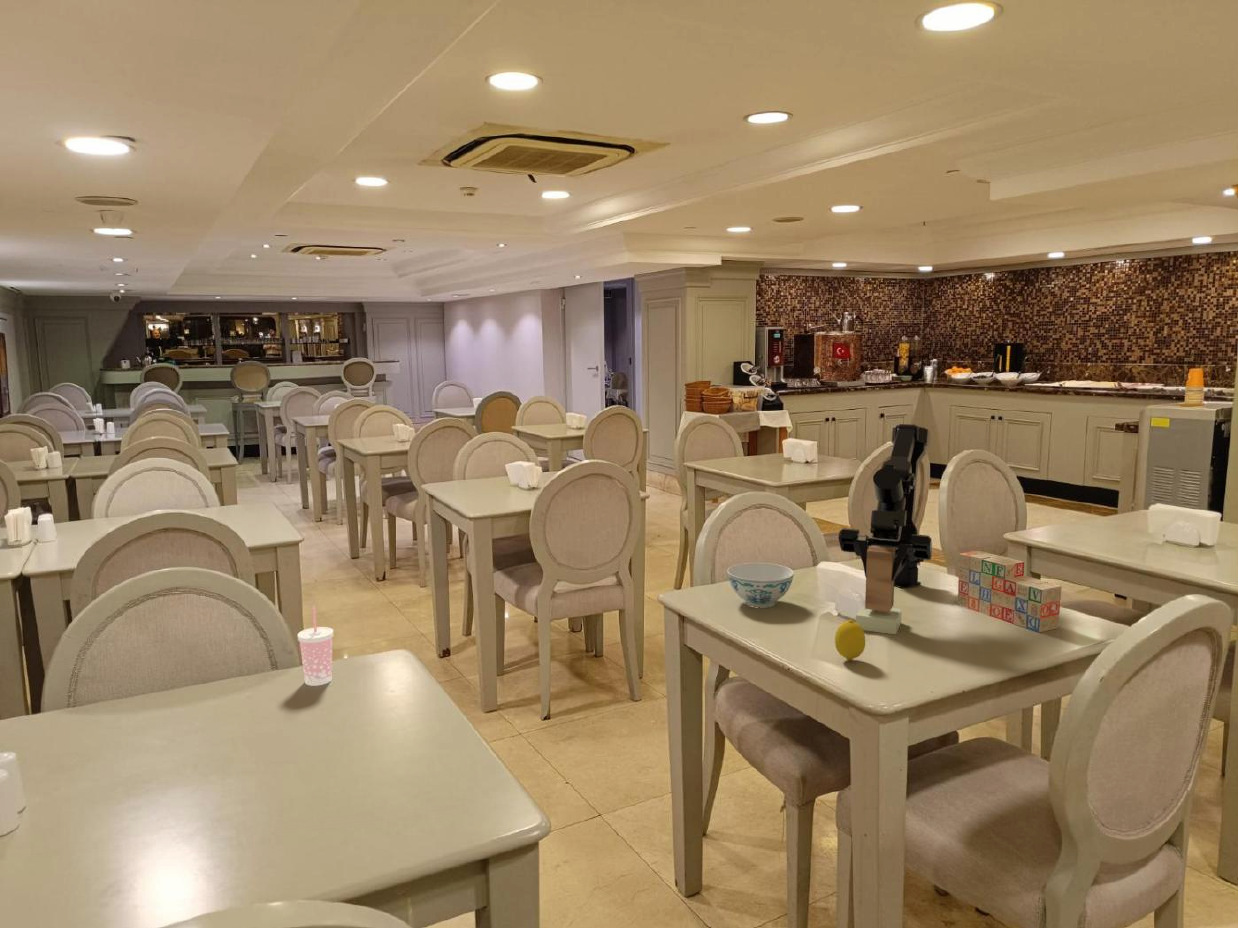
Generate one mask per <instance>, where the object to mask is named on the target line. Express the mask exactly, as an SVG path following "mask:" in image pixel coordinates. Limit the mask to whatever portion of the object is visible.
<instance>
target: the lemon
mask: <svg viewBox="0 0 1238 928" xmlns="http://www.w3.org/2000/svg"><path fill="white" fill-rule="evenodd" d="M834 644H835V648H836V651H837V652H838V654H839V655H840V656H842V657H843V658H845V659H846V660H847V661H848V662H851V661H853V660H854V659H857V658H858V657H860V656H861V655H862V654H863V652H864V650H865V648H866V647H865V646H866V635H865V630H863V629H862V627H861V626H860V625H859V624H857V623H856V621H854V620H853V619H848V620H847V621H844V622H842V623H841V624H839V625H838V627H837V629H836V632H835V634H834Z"/></svg>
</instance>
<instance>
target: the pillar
mask: <svg viewBox="0 0 1238 928" xmlns="http://www.w3.org/2000/svg"><path fill="white" fill-rule="evenodd" d="M895 551H896V548H895V547H885V546H874V545H871V546H869V548H868V550H867V564H866V577H865V594H864V595H865V597H864V601H865V602H864V605H865V609H871V610H879V611H887V612H890V611H891V609H892V608H894V607H893V606H894V603H895V602H894V601H895V598H894V596H895V586H894V581H893V580H892V571H893V567H894V564H895Z"/></svg>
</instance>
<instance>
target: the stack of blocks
mask: <svg viewBox="0 0 1238 928" xmlns="http://www.w3.org/2000/svg"><path fill="white" fill-rule="evenodd" d="M958 557H959V559H958V581H957V583H958V586H957V588H958V589H957V591H958V592H957V605H958V606H960V607H963V608H966V609H968V610H972V611H974V612H977V613H980V614H982V613H983V614H982V615H985V614H986V616H988V617H992V618H995V619H999V620H1001V619H1002V620H1001V621H1004V622H1006V623H1010V624H1012V625H1013V624H1014V625H1016V626H1019V627H1021V628H1024V629H1027V630H1030V631H1034V632H1036V633H1043V632H1048V631H1052V630H1056V629H1059V625H1060V624H1059V623H1060V620H1059V619H1060V611H1061V599H1062V588H1063V587H1062V585H1060V584H1057V583H1056V584H1055V583H1053V582H1049V581H1046V580H1041V579H1040V578H1039V579H1038V578H1035V577H1031V576H1028V575H1024V574H1025V573H1024V572H1025V561H1023V560H1018V559H1015V558H1010V557H1006V556H1001V555H999V554H998V555H997V554H995V553H994V554H993V553H989V552H986V551H984V550H983V551H982V550H971V551H967V552H966V551H965V552H962V553H959V555H958Z"/></svg>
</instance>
